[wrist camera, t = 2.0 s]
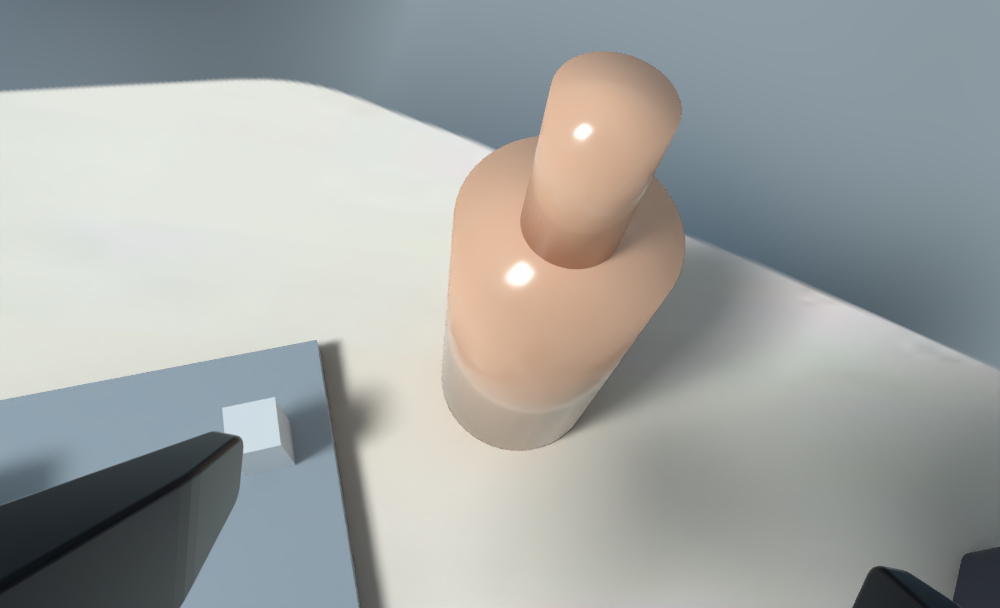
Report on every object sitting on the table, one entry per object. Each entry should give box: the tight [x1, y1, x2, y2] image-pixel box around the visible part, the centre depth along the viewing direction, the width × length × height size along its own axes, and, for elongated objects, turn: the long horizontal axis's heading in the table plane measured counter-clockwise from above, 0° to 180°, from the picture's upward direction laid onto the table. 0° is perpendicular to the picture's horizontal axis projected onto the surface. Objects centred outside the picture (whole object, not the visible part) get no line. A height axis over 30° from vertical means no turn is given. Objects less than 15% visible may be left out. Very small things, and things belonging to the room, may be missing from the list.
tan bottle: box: [442, 52, 685, 451], centre depth 18 cm, size 6×6×14 cm
